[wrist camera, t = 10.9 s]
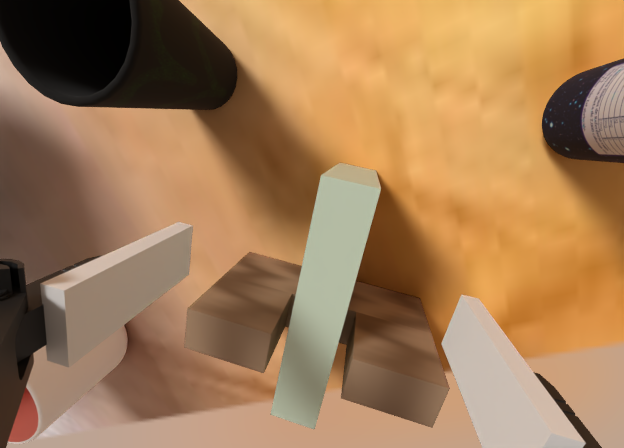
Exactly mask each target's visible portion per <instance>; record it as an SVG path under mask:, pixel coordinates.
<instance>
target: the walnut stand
mask: <svg viewBox="0 0 624 448" xmlns="http://www.w3.org/2000/svg"><path fill="white" fill-rule="evenodd" d="M301 268H302V266H299V265H296V264H292V263H288V262H285V261H281V260H277V259H274V258H270V257H266V256H263V255H259V254H255V253H252V252H249V253H248V254H247V255H246V256H245V257H243V258H242V259H241V260H240V261H239V262H238V263H237V264H236V265H235V266H234V267H233V268H231V269H230V270H229V271H228V272H227V273H226V274H225V275H224V276H223V277H222V278H221V279H219V280H218V281H217V282H216V283H215V284H214V285H213V286H212V287H211V288H210V289H208V290H207V291H206V292H205V293H204V294H203V295H202V296H201V297H200V298H199V299H198V300H196V301H195V302H194V303H193V304H192V305H191V306H190V307H189V308H188V310H187V321H186V333H185V344H184V348H187V349H190V350H193V351H196V352H200V353H203V354H206V355H209V356H212V357H215V358H218V359H221V360H224V361H227V362H230V363H234V364H237V365H240V366H243V367H246V368H249V369H252V370H255V371H258V372H261V373H264V371H265V369H266V367H267V365H268V363H269V361H270V358H271V356H272V354H273V352H274V350H275V347H276V345H277V343H278V341H279V339H280V336H281V334H282V332H283V330H284V328H285V326H286V327H289V325H290V320H291V315H292V310H293V306H294V301H295V296H296V292H297V287H298V282H299V277H300V273H301ZM339 343H343V344H346V345H347V348H346V357H345V366H344V375H343V385H342V394H341V398H342V399H345V400H348V401H351V402H354V403H357V404H360V405H364V406H367V407H370V408H373V409H376V410H379V411H382V412H385V413H388V414H392V415H394V416H398V417H401V418H404V419H407V420H410V421H413V422H416V423H419V424H422V425H425V426H428V427H433V425H434V423H435V420H436V418H437V416H438V413H439V411H440V409H441V407H442V405H443V402H444V400H445V398H446V395H447V393H448V391H449V389H450V388H449V385H448V382H447V379H446V376H445V373H444V370H443V367H442V364H441V361H440V358H439V355H438V352H437V349H436V346H435V343H434V340H433V337H432V334H431V331H430V328H429V325H428V322H427V318H426V315H425V312H424V309H423V306H422V303H421V300H420V298H417V297H413V296H409V295H406V294H402V293H398V292H395V291H391V290H387V289H384V288H380V287H376V286H373V285H369V284H365V283H362V282H358V281H355V285H354V289H353V292H352V296H351V299H350V303H349V307H348V310H347V314H346V317H345V321H344V325H343V328H342V332H341V336H340V339H339Z"/></svg>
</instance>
